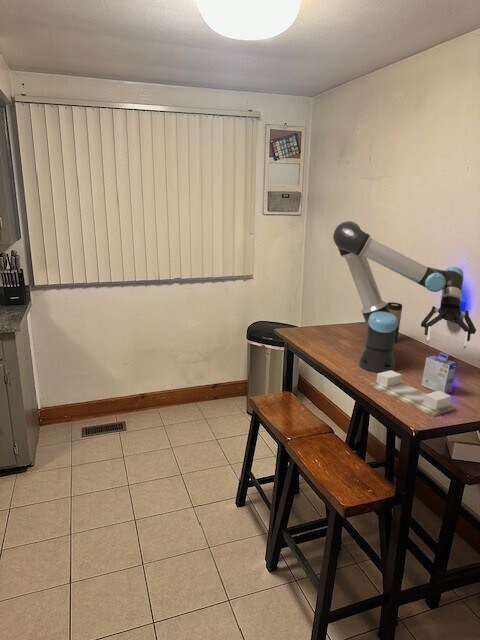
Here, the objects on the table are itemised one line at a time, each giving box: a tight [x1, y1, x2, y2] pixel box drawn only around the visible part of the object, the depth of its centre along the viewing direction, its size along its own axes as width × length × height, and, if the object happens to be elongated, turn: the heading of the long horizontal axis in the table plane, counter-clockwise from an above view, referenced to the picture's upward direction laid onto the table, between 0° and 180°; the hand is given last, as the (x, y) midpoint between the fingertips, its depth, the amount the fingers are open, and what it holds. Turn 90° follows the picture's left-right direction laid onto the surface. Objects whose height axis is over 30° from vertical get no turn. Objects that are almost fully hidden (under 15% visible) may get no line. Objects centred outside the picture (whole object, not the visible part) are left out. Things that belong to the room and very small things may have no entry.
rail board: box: [369, 379, 456, 417], centre depth 163 cm, size 28×12×2 cm, turn 32°
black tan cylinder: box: [386, 301, 403, 344], centre depth 225 cm, size 8×8×20 cm
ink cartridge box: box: [421, 351, 458, 394], centre depth 169 cm, size 10×6×14 cm, turn 36°
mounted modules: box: [375, 370, 452, 410], centre depth 162 cm, size 26×8×4 cm, turn 32°
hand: (445, 344), depth 174 cm, fingers open, 13 cm apart
